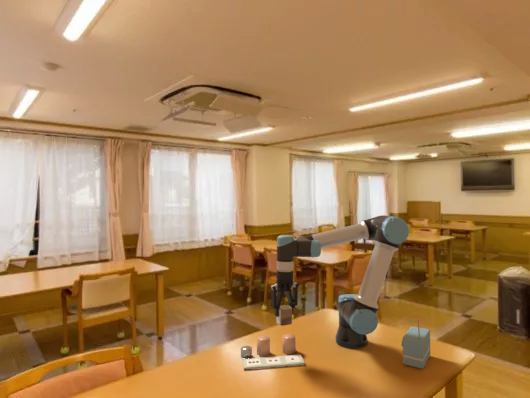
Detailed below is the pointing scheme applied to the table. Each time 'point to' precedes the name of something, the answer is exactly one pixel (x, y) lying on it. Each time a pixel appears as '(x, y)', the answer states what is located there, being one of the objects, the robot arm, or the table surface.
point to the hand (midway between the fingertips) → (284, 322)
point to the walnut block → (286, 315)
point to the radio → (416, 346)
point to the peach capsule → (289, 344)
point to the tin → (246, 352)
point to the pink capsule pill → (263, 345)
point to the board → (273, 362)
